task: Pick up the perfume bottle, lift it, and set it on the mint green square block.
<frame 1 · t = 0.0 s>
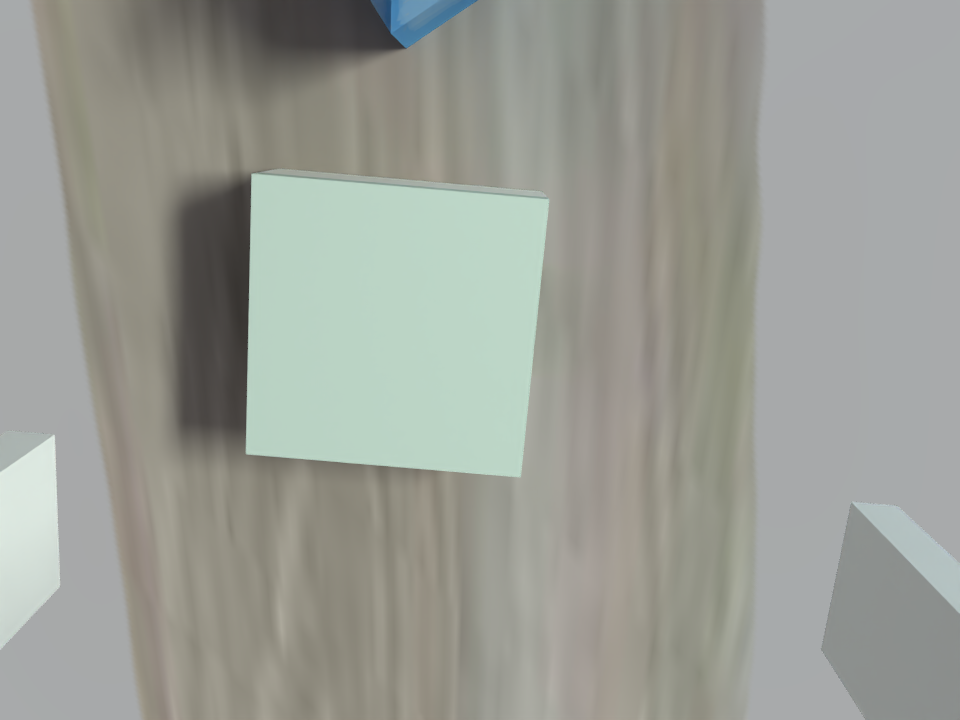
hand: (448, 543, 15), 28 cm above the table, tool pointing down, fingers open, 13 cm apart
mint green square block: (403, 308, 42), on the table
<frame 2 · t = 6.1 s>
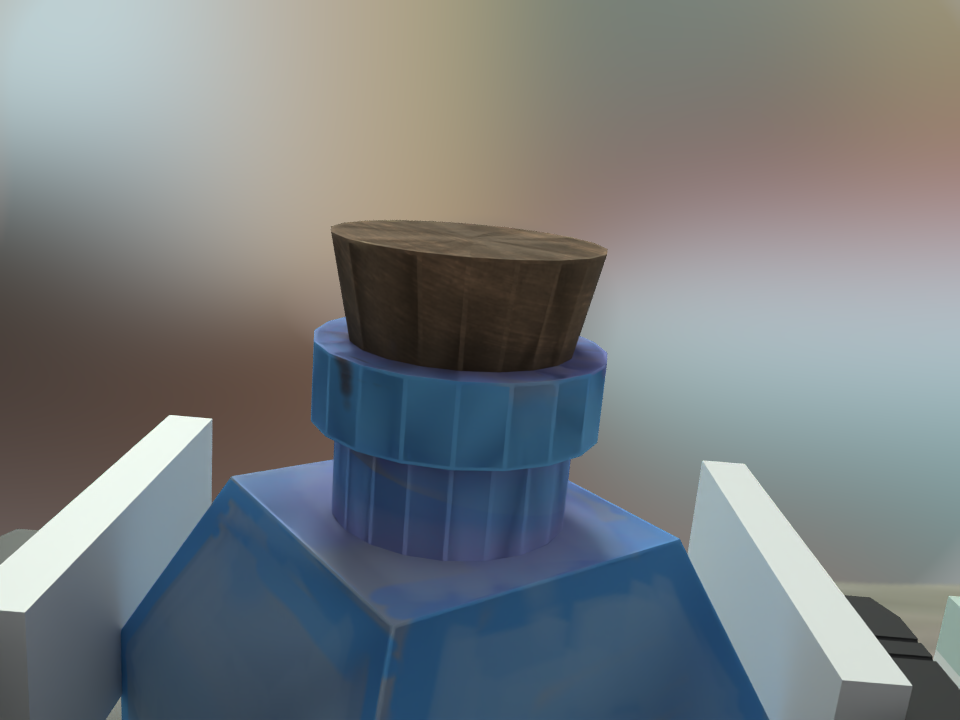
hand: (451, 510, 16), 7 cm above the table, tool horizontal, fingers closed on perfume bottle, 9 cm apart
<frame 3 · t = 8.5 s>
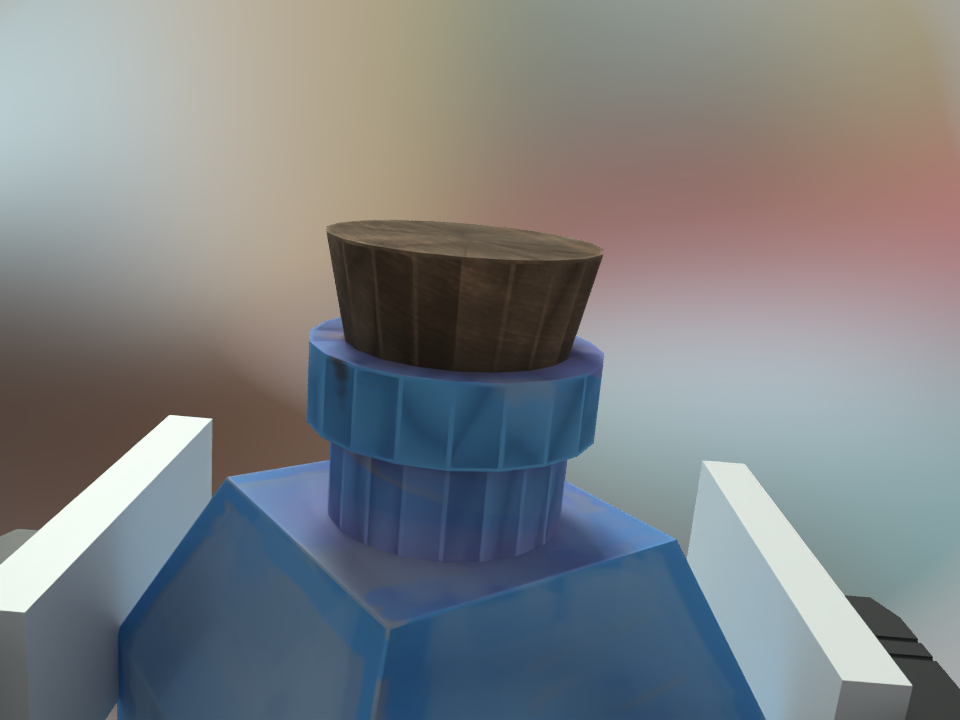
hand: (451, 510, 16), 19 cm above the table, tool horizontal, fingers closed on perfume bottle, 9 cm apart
when the fingers open (13 cm above the table, at t = 10.8 s): perfume bottle drops 1 cm, resting on mint green square block.
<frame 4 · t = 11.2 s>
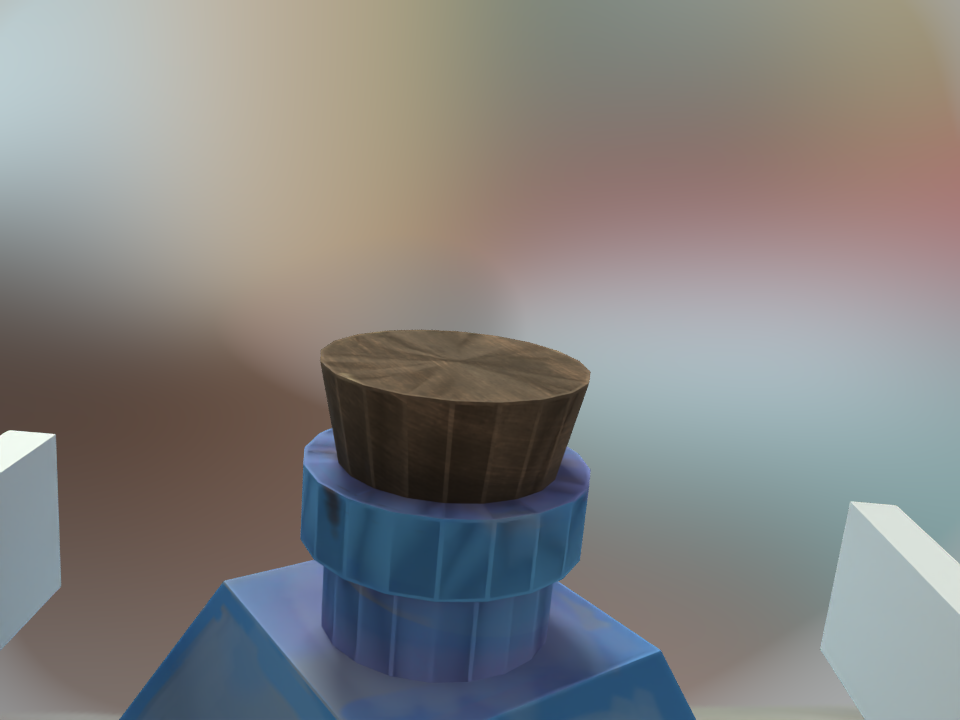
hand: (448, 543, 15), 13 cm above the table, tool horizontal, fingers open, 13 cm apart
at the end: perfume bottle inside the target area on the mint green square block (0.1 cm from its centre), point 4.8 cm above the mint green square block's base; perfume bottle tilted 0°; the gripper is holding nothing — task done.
